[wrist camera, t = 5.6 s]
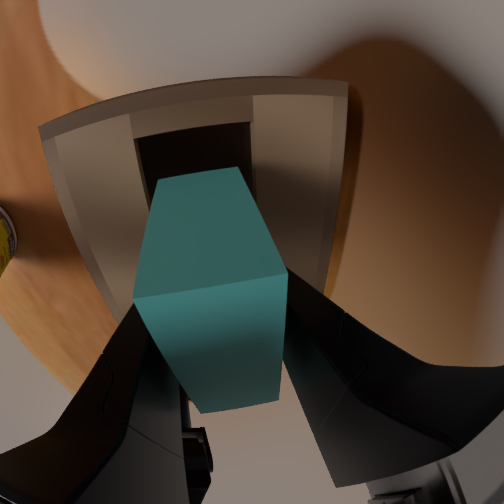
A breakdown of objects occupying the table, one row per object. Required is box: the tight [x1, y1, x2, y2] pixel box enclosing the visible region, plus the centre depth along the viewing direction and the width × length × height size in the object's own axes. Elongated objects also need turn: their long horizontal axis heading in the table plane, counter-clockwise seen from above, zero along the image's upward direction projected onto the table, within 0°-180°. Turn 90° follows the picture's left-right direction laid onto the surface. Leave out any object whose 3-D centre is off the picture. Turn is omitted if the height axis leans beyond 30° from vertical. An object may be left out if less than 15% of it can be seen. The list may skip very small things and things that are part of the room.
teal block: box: [132, 167, 288, 414], centre depth 8 cm, size 6×2×5 cm, turn 2°
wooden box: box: [38, 76, 348, 325], centre depth 13 cm, size 11×11×7 cm
